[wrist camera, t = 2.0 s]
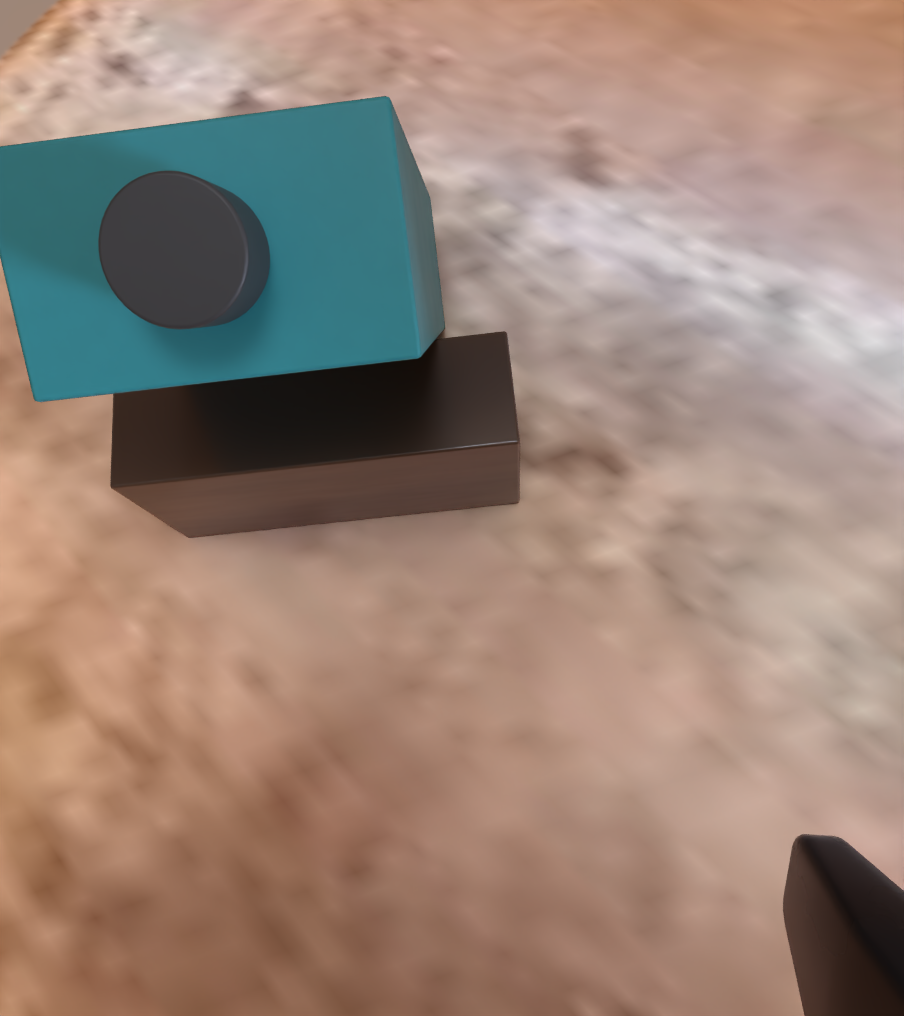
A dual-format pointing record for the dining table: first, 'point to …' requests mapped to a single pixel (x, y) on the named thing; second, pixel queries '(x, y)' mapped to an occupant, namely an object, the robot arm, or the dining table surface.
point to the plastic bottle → (218, 250)
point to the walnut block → (324, 442)
